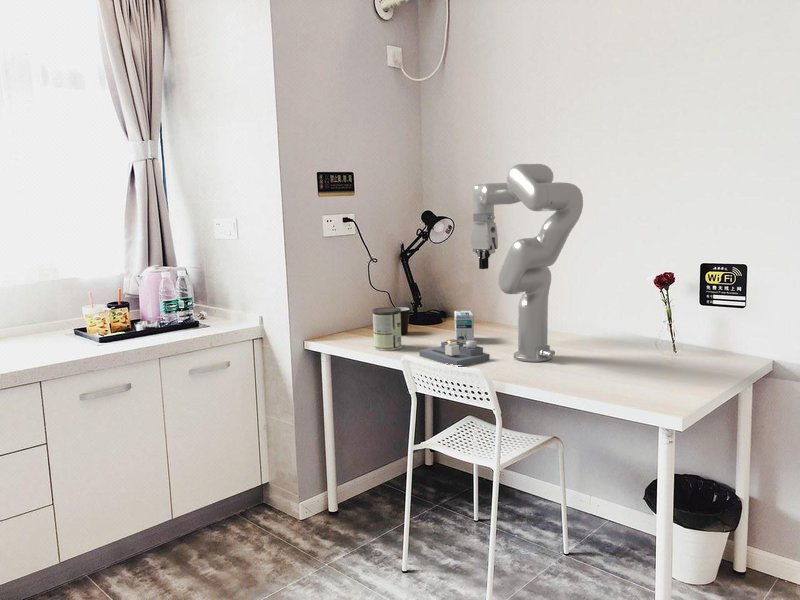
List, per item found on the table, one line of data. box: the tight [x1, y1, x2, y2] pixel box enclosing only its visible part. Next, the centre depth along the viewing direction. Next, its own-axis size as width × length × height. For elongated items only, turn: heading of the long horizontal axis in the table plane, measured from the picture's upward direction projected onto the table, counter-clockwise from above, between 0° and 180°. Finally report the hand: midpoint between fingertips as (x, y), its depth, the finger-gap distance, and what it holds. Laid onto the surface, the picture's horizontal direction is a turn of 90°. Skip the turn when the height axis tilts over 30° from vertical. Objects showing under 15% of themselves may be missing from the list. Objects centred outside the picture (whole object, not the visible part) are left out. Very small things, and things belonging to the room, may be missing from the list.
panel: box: [418, 340, 490, 367], centre depth 226 cm, size 20×14×4 cm
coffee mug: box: [395, 306, 411, 336], centre depth 266 cm, size 12×9×10 cm
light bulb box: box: [453, 310, 475, 345], centre depth 252 cm, size 11×7×11 cm, turn 179°
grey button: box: [465, 339, 478, 349], centre depth 224 cm, size 4×4×3 cm
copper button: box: [446, 338, 457, 343], centre depth 232 cm, size 4×4×3 cm
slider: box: [445, 342, 459, 356], centre depth 221 cm, size 3×3×4 cm
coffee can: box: [371, 306, 403, 352], centre depth 244 cm, size 10×10×14 cm
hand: (483, 268), depth 247 cm, fingers closed
